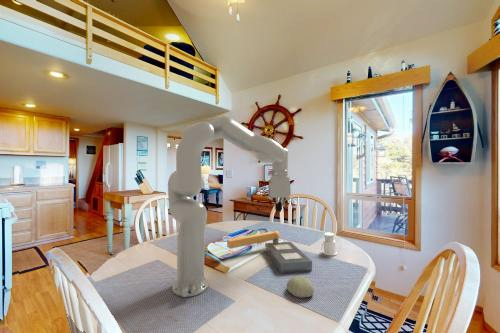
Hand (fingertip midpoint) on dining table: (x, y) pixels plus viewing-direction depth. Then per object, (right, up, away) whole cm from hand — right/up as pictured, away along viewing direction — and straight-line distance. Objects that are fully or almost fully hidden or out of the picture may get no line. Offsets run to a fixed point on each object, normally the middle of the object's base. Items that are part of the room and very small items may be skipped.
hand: (278, 211), depth 107 cm
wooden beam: (-11, -17, +6) cm, 21 cm away
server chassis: (+3, -22, 0) cm, 23 cm away
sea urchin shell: (+4, -23, -29) cm, 37 cm away
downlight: (+27, -23, +6) cm, 36 cm away
